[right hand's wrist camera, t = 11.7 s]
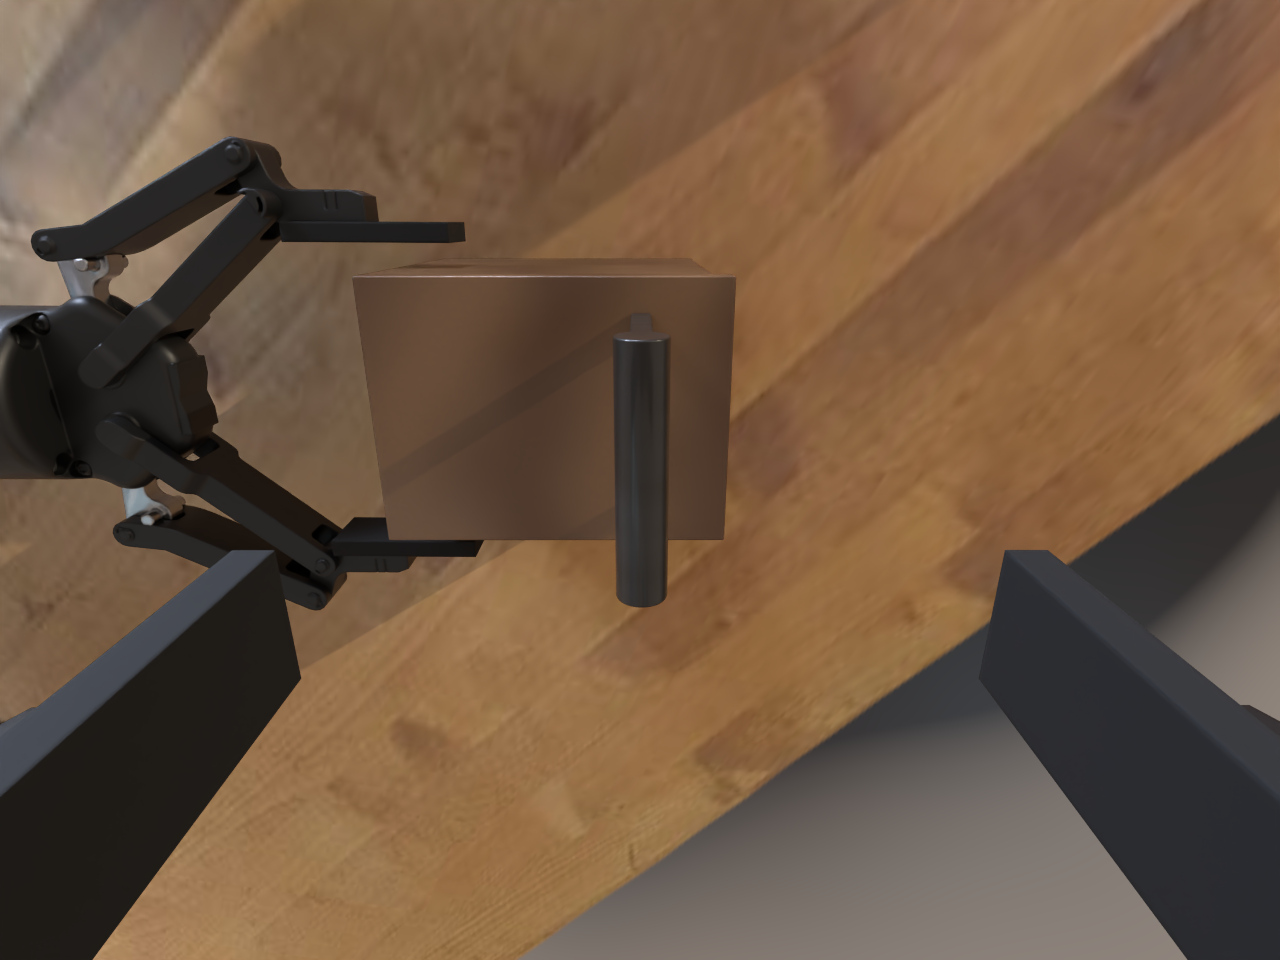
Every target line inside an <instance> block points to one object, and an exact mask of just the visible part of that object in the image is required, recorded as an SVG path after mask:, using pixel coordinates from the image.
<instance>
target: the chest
mask: <svg viewBox="0 0 1280 960" xmlns="http://www.w3.org/2000/svg"><path fill="white" fill-rule="evenodd" d="M367 274H711V273H710V272H709V271H707V270H706V269H704V268H703V267H701V266H700V265H699V264H697V263H696V262H694V261H693V260H692V259H441V260H436V261H431V262H425V263H420V264H415V265H410V266H404V267H399V268H394V269H388V270H383V271H378V272H373V273H367Z"/></svg>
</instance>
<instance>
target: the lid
mask: <svg viewBox="0 0 1280 960" xmlns="http://www.w3.org/2000/svg"><path fill="white" fill-rule="evenodd" d="M352 278H353V286H354V293H355V300H356V307H357V314H358V321H359V328H360V336H361V343H362V350H363V357H364V364H365V371H366V379H367V386H368V393H369V400H370V407H371V414H372V421H373V429H374V436H375V443H376V450H377V457H378V464H379V471H380V479H381V486H382V493H383V500H384V507H385V514H386V521H387V529H388V536H389V540H616V595H617V598H618V599H619V600H620V601H621V602H622V603H624V604H626V605H629V606H633V607H651V606H655V605H658V604H660V603H661V602H663V601H664V600H665V598H666V596H667V565H668V540H723V539H724V526H725V504H726V483H727V461H728V440H729V419H730V397H731V376H732V355H733V333H734V312H735V290H736V276H734V275H732V274H361V275H356V276H353V277H352Z"/></svg>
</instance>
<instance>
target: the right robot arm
mask: <svg viewBox="0 0 1280 960" xmlns="http://www.w3.org/2000/svg"><path fill="white" fill-rule="evenodd" d="M300 679H301V675H300V670H299V665H298V661H297V656H296V651H295V646H294V641H293V636H292V631H291V626H290V622H289V617H288V612H287V607H286V602H285V597H284V592H283V587H282V582H281V578H280V573H279V568H278V563H277V558H276V553H275V550H232V551H231V552H229V553H228V554H227V555H226V556H224V557H223V558H222V559H221V560H219V561H218V562H217V563H216V564H215V565H213V566H212V567H211V568H210V569H208V570H207V571H206V572H205V573H203V574H202V575H201V576H200V577H198V578H197V579H196V580H195V581H193V582H192V583H191V584H190V585H188V586H187V587H186V588H185V589H183V590H182V591H181V592H180V593H178V594H177V595H176V596H175V597H173V598H172V599H171V600H170V601H169V602H167V603H166V604H165V605H164V606H162V607H161V608H160V609H159V610H157V611H156V612H155V613H154V614H152V615H151V616H150V617H149V618H147V619H146V620H145V621H144V622H142V623H141V624H140V625H139V626H137V627H136V628H135V629H134V630H132V631H131V632H130V633H129V634H128V635H126V636H125V637H124V638H123V639H121V640H120V641H119V642H118V643H116V644H115V645H114V646H113V647H111V648H110V649H109V650H108V651H106V652H105V653H104V654H103V655H101V656H100V657H99V658H98V659H96V660H95V661H94V662H93V663H91V664H90V665H89V666H88V667H86V668H85V669H84V670H83V671H82V672H80V673H79V674H78V675H77V676H75V677H74V678H73V679H72V680H70V681H69V682H68V683H67V684H65V685H64V686H63V687H62V688H60V689H59V690H58V691H57V692H55V693H54V694H53V695H52V696H50V697H49V698H48V699H47V700H45V701H44V702H43V703H42V704H41V705H39V706H38V707H37V708H30V709H28V710H26V711H24V712H22V713H21V714H19V715H17V716H15V717H13V718H11V719H9V720H8V721H6V722H4V723H2V724H0V960H93V958H94V957H95V956H96V954H97V953H98V951H99V950H100V949H101V947H102V946H103V945H104V943H105V942H106V941H107V939H108V938H109V937H110V935H111V934H112V933H113V931H114V930H115V929H116V927H117V926H118V925H119V923H120V922H121V921H122V919H123V918H124V916H125V915H126V914H127V912H128V911H129V910H130V908H131V907H132V906H133V904H134V903H135V902H136V900H137V899H138V898H139V896H140V895H141V894H142V892H143V891H144V890H145V888H146V887H147V885H148V884H149V883H150V881H151V880H152V879H153V877H154V876H155V875H156V873H157V872H158V871H159V869H160V868H161V867H162V865H163V864H164V863H165V861H166V860H167V859H168V857H169V856H170V855H171V853H172V852H173V850H174V849H175V848H176V846H177V845H178V844H179V842H180V841H181V840H182V838H183V837H184V836H185V834H186V833H187V832H188V830H189V829H190V828H191V826H192V825H193V824H194V822H195V821H196V819H197V818H198V817H199V815H200V814H201V813H202V811H203V810H204V809H205V807H206V806H207V805H208V803H209V802H210V801H211V799H212V798H213V797H214V795H215V794H216V793H217V791H218V790H219V789H220V787H221V786H222V784H223V783H224V782H225V780H226V779H227V778H228V776H229V775H230V774H231V772H232V771H233V770H234V768H235V767H236V766H237V764H238V763H239V762H240V760H241V759H242V758H243V756H244V755H245V754H246V752H247V751H248V749H249V748H250V747H251V745H252V744H253V743H254V741H255V740H256V739H257V737H258V736H259V735H260V733H261V732H262V731H263V729H264V728H265V727H266V725H267V724H268V723H269V721H270V720H271V718H272V717H273V716H274V714H275V713H276V712H277V710H278V709H279V708H280V706H281V705H282V704H283V702H284V701H285V700H286V698H287V697H288V696H289V694H290V693H291V692H292V690H293V689H294V688H295V686H296V685H297V683H298V682H299V681H300ZM979 679H980V681H981V682H982V683H983V685H984V686H985V688H986V689H987V690H988V692H989V693H990V694H991V696H992V697H993V698H994V700H995V701H996V702H997V704H998V705H999V706H1000V708H1001V709H1002V710H1003V712H1004V713H1005V714H1006V716H1007V717H1008V718H1009V720H1010V721H1011V723H1012V724H1013V725H1014V726H1015V728H1016V729H1017V731H1018V732H1019V733H1020V735H1021V736H1022V737H1023V739H1024V740H1025V741H1026V743H1027V744H1028V745H1029V747H1030V748H1031V749H1032V751H1033V752H1034V754H1035V755H1036V756H1037V757H1038V759H1039V760H1040V761H1041V763H1042V764H1043V766H1044V767H1045V768H1046V770H1047V771H1048V772H1049V774H1050V775H1051V776H1052V778H1053V779H1054V780H1055V782H1056V783H1057V784H1058V786H1059V787H1060V788H1061V790H1062V791H1063V793H1064V794H1065V795H1066V797H1067V798H1068V799H1069V801H1070V802H1071V803H1072V805H1073V806H1074V807H1075V809H1076V810H1077V811H1078V813H1079V814H1080V815H1081V817H1082V818H1083V819H1084V821H1085V822H1086V823H1087V825H1088V826H1089V828H1090V829H1091V830H1092V832H1093V833H1094V834H1095V836H1096V837H1097V838H1098V840H1099V841H1100V842H1101V844H1102V845H1103V846H1104V848H1105V849H1106V850H1107V852H1108V853H1109V854H1110V856H1111V857H1112V858H1113V860H1114V861H1115V863H1116V864H1117V865H1118V867H1119V868H1120V869H1121V871H1122V872H1123V873H1124V875H1125V876H1126V877H1127V879H1128V880H1129V881H1130V883H1131V884H1132V885H1133V887H1134V888H1135V890H1136V891H1137V892H1138V894H1139V895H1140V896H1141V898H1142V899H1143V900H1144V902H1145V903H1146V904H1147V906H1148V907H1149V908H1150V910H1151V911H1152V912H1153V914H1154V915H1155V916H1156V918H1157V919H1158V920H1159V922H1160V923H1161V925H1162V926H1163V927H1164V929H1165V930H1166V931H1167V933H1168V934H1169V935H1170V937H1171V938H1172V939H1173V941H1174V942H1175V943H1176V945H1177V946H1178V947H1179V949H1180V950H1181V951H1182V953H1183V954H1184V955H1185V957H1186V958H1187V960H1280V721H1278V720H1276V719H1274V718H1272V717H1271V716H1269V715H1267V714H1265V713H1263V712H1261V711H1259V710H1258V709H1256V708H1254V707H1252V706H1250V705H1239V704H1238V703H1237V702H1236V701H1235V700H1233V699H1232V698H1231V697H1229V696H1228V695H1227V694H1226V693H1225V692H1223V691H1222V690H1221V689H1220V688H1218V687H1217V686H1216V685H1215V684H1213V683H1212V682H1211V681H1210V680H1208V679H1207V678H1206V677H1205V676H1203V675H1202V674H1201V673H1200V672H1198V671H1197V670H1196V669H1195V668H1194V667H1192V666H1191V665H1190V664H1189V663H1187V662H1186V661H1185V660H1184V659H1182V658H1181V657H1180V656H1179V655H1177V654H1176V653H1175V652H1174V651H1172V650H1171V649H1170V648H1169V647H1167V646H1166V645H1165V644H1164V643H1162V642H1161V641H1160V640H1159V639H1157V638H1156V637H1155V636H1154V635H1152V634H1151V633H1150V632H1149V631H1148V630H1146V629H1145V628H1144V627H1143V626H1141V625H1140V624H1139V623H1138V622H1136V621H1135V620H1134V619H1133V618H1131V617H1130V616H1129V615H1127V614H1126V613H1125V612H1124V611H1123V610H1121V609H1120V608H1119V607H1118V606H1116V605H1115V604H1114V603H1113V602H1111V601H1110V600H1109V599H1108V598H1107V597H1105V596H1104V595H1103V594H1102V593H1100V592H1099V591H1098V590H1097V589H1095V588H1094V587H1093V586H1092V585H1090V584H1089V583H1088V582H1087V581H1085V580H1084V579H1083V578H1082V577H1080V576H1079V575H1078V574H1077V573H1075V572H1074V571H1073V570H1072V569H1070V568H1069V567H1068V566H1067V565H1065V564H1064V563H1063V562H1062V561H1061V560H1059V559H1058V558H1057V557H1056V556H1054V555H1053V554H1052V553H1051V552H1049V551H1048V550H1005V553H1004V558H1003V563H1002V568H1001V573H1000V578H999V582H998V587H997V592H996V597H995V602H994V607H993V612H992V617H991V622H990V627H989V631H988V636H987V641H986V646H985V651H984V656H983V661H982V666H981V670H980V675H979Z"/></svg>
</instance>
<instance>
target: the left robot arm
mask: <svg viewBox="0 0 1280 960" xmlns="http://www.w3.org/2000/svg"><path fill="white" fill-rule="evenodd" d="M241 194H243V195H245V196H244V197H243V198H242V200H241V201H240V202H239V203H238V204H237V205H236V206H235V207H234V208H233V209H232V210H231V211H230V213H229V214H228V215H227V216H226V217H225V218H224V219H223V220H222V221H221V222H220V223H219V224H218V226H217V227H216V228H215V229H214V230H213V231H212V232H211V233H210V234H209V235H208V236H207V238H206V239H205V240H204V241H203V242H202V243H201V244H200V245H199V246H198V247H197V248H196V249H195V251H194V252H193V253H192V254H191V255H190V256H189V257H188V258H187V259H186V260H185V261H184V262H183V264H182V265H181V266H180V267H179V268H178V269H177V270H176V271H175V272H174V273H173V274H172V275H171V277H170V278H169V279H168V280H167V281H166V282H165V283H164V284H163V285H162V286H161V287H160V288H159V290H158V291H157V292H156V293H155V294H154V295H153V296H152V297H151V298H150V299H148V300H147V301H145V302H143V303H141V304H139V305H138V306H136V307H133V306H132V305H130V304H129V303H127V302H125V301H124V300H122V299H121V298H119V297H116V296H114V295H110V293H109V289H108V288H109V283H110V281H111V280H112V278H114V277H116V276H118V275H120V274H121V273H122V272H123V270H124V268H126V267H127V266H128V259H127V258H126V256H125V255H130V254H135V253H138V252H141V251H144V250H146V249H148V248H150V247H152V246H154V245H156V244H158V243H159V242H161V241H163V240H164V239H166V238H168V237H169V236H171V235H173V234H175V233H176V232H178V231H180V230H181V229H183V228H185V227H186V226H188V225H190V224H192V223H193V222H195V221H197V220H198V219H200V218H202V217H203V216H205V215H207V214H209V213H210V212H212V211H214V210H215V209H217V208H219V207H220V206H222V205H224V204H225V203H227V202H229V201H231V200H232V199H234V198H236V197H237V196H239V195H241ZM280 240H282V242H390V243H453V242H462V241H465V229H464V222H379V220H378V212H377V203H376V197H375V196H373V195H370V194H368V193H366V192H363V191H355V190H299V189H296V188H295V187H293V186H292V185H291V184H290V183H289V182H288V181H287V179H286V177H285V175H284V173H283V171H282V169H281V157H280V155H279V152H278V151H277V150H276V149H275V148H274V147H273V146H271V145H269V144H265V143H261V142H256V141H251V140H247V139H242V138H237V137H227V138H224V139H222V140H221V141H219V142H217V143H216V144H214V145H212V146H211V147H209V148H207V149H206V150H204V151H202V152H201V153H199V154H197V155H196V156H194V157H193V158H191V159H189V160H188V161H186V162H184V163H183V164H181V165H179V166H178V167H176V168H174V169H173V170H171V171H170V172H168V173H166V174H165V175H163V176H161V177H160V178H158V179H156V180H155V181H153V182H151V183H150V184H148V185H146V186H145V187H143V188H142V189H140V190H138V191H137V192H135V193H133V194H132V195H130V196H128V197H127V198H125V199H123V200H122V201H120V202H118V203H117V204H115V205H114V206H112V207H110V208H109V209H107V210H105V211H104V212H102V213H100V214H99V215H97V216H95V217H94V218H92V219H90V220H89V221H87V222H86V223H84V224H82V225H75V226H66V227H58V228H49V229H41V230H38V231H35V233H34V234H33V235H32V238H31V244H32V248H33V250H34V251H35V253H36V254H37V255H38V256H39V257H40V258H42V259H44V260H46V261H51V262H55V261H57V263H58V266H59V268H60V271H61V273H62V276H63V279H64V281H65V284H66V286H67V289H68V292H69V294H70V297H71V299H70V300H68V301H67V302H65V303H64V304H63V305H60V306H0V479H84V478H97V479H102V480H105V481H108V482H110V483H112V484H114V485H116V486H119V487H122V491H123V498H124V505H125V511H126V519H125V520H123V521H122V522H120V523H118V524H116V525H115V527H114V528H113V534H114V537H115V539H116V540H117V541H118V542H119V543H121V544H122V545H125V546H130V547H139V548H149V549H158V550H166V551H169V552H171V553H173V554H176V555H178V556H181V557H183V558H186V559H188V560H191V561H193V562H196V563H198V564H200V565H203V566H205V567H208V568H211V567H212V566H213V565H215V564H216V563H217V562H218V561H219V560H221V559H222V558H223V557H224V556H226V555H227V554H228V553H229V552H231V551H232V550H275V553H276V558H277V563H278V568H279V573H280V578H281V582H282V587H283V592H284V597H285V599H286V600H289V601H291V602H294V603H296V604H299V605H301V606H304V607H306V608H308V609H311V610H321V609H323V608H324V607H325V606H326V605H327V603H328V602H329V601H330V600H331V599H332V597H333V596H334V595H335V594H336V593H337V591H338V590H339V589H340V588H341V586H342V585H343V584H344V583H345V581H346V580H347V574H346V572H401V571H403V570H406V569H409V567H410V566H411V564H412V563H413V561H414V560H415V558H416V557H417V556H418V557H476V555H477V553H478V551H479V549H480V547H481V545H482V543H483V541H484V540H389V536H388V529H387V521H386V518H378V517H354V518H353V519H352V520H351V521H350V522H349V523H348V524H347V525H346V526H345V527H344V529H341V528H340V527H338V526H337V525H335V524H334V523H332V522H331V521H330V520H328V519H327V518H325V517H324V516H322V515H321V514H319V513H318V512H317V511H315V510H314V509H312V508H311V507H309V506H308V505H307V504H305V503H304V502H302V501H301V500H299V499H298V498H296V497H295V496H294V495H292V494H291V493H289V492H288V491H286V490H285V489H283V488H282V487H281V486H279V485H278V484H276V483H275V482H273V481H272V480H270V479H269V478H268V477H266V476H265V475H263V474H262V473H260V472H259V471H257V470H256V469H255V468H253V467H252V466H250V465H249V464H247V463H246V462H244V461H243V460H242V459H240V458H239V456H238V451H237V449H236V448H234V447H233V446H232V445H230V444H229V443H228V442H226V441H225V440H223V439H222V438H220V437H219V436H218V435H216V434H215V433H213V432H212V429H213V425H214V424H216V423H218V418H217V413H216V409H215V405H214V403H213V401H212V399H211V397H210V395H209V393H208V391H207V376H208V371H207V366H206V362H205V357H204V355H198V354H197V352H196V351H195V349H194V348H193V347H192V345H191V344H190V343H189V342H188V341H189V340H190V339H191V338H192V337H193V336H194V335H195V334H196V333H197V332H198V331H199V330H200V329H201V328H202V327H203V326H204V325H205V324H206V323H207V322H208V320H209V319H210V313H211V312H212V311H213V310H214V309H215V308H216V307H217V306H218V305H219V304H220V303H221V302H222V301H223V300H224V299H225V297H226V296H227V295H228V294H229V293H230V292H231V291H232V290H233V289H234V288H235V287H236V286H237V285H238V284H239V283H240V282H241V281H242V280H243V279H244V278H245V277H246V276H247V275H248V273H249V272H250V271H251V270H252V269H253V268H254V267H255V266H256V265H257V264H258V263H259V262H260V261H261V260H262V259H263V258H264V257H265V256H266V255H267V254H268V253H269V252H270V251H271V249H272V248H273V247H274V246H275V245H276V244H277V243H278V242H279V241H280ZM191 453H194V454H195V455H197V456H198V457H200V458H199V459H197V460H195V461H190V460H187V459H185V458H187V457H188V456H189V455H190V454H191ZM157 479H161V480H162V481H164V482H165V483H167V484H168V485H170V486H171V487H173V488H174V489H176V490H177V491H179V492H182V493H185V494H195V495H198V496H199V497H201V498H202V499H204V500H205V501H207V502H208V503H210V504H211V505H213V506H214V507H216V508H217V509H219V510H220V511H222V512H223V513H225V514H226V515H228V516H229V517H231V518H232V519H234V520H235V521H237V522H238V523H237V522H234V521H232V520H230V519H227V518H225V517H222V516H220V515H218V514H215V513H213V512H210V511H207V510H205V509H201V508H198V507H194V506H187V505H185V503H186V502H185V499H184V498H183V497H182V496H178V495H177V496H171V495H168V494H166V493H164V492H163V491H162V490H161V489H160V488H159V487H158V485H157V481H156V480H157ZM239 523H240V524H239Z"/></svg>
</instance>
